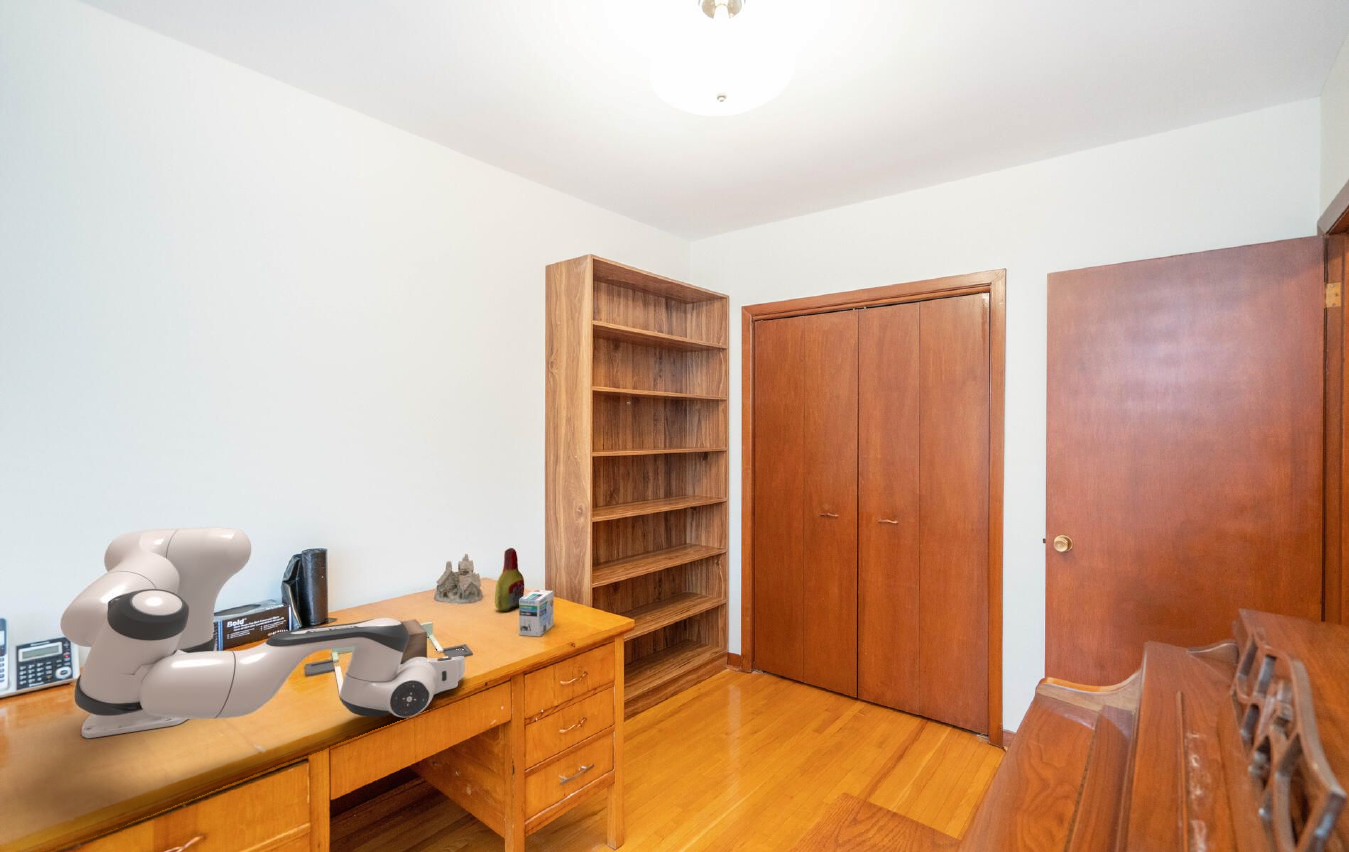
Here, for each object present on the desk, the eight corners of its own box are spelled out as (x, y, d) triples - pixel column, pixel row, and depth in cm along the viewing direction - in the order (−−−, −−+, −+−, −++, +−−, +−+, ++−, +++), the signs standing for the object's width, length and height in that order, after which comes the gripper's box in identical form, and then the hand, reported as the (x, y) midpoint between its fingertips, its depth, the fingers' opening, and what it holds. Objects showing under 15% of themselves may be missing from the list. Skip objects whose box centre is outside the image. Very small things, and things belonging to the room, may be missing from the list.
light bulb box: (539, 637, 173) (539, 600, 173) (518, 635, 174) (518, 598, 174) (554, 625, 183) (554, 590, 183) (534, 623, 184) (534, 588, 184)
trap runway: (307, 707, 130) (307, 689, 130) (304, 658, 157) (304, 643, 157) (483, 668, 150) (483, 653, 150) (454, 631, 177) (454, 617, 177)
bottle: (516, 602, 206) (516, 544, 206) (530, 605, 203) (530, 546, 203) (490, 611, 196) (490, 550, 196) (504, 614, 193) (504, 553, 193)
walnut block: (373, 684, 141) (373, 642, 141) (365, 667, 151) (365, 628, 151) (427, 671, 148) (426, 631, 148) (415, 656, 158) (415, 619, 158)
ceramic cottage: (434, 594, 216) (435, 553, 215) (481, 591, 221) (483, 551, 220) (432, 609, 201) (434, 565, 200) (483, 606, 207) (485, 563, 206)
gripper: (365, 701, 130) (375, 684, 143) (464, 686, 137) (465, 671, 150) (365, 671, 131) (375, 657, 144) (463, 657, 137) (464, 645, 150)
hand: (422, 664), depth 147 cm, fingers closed
